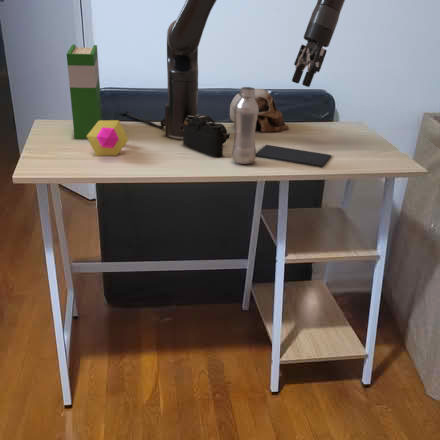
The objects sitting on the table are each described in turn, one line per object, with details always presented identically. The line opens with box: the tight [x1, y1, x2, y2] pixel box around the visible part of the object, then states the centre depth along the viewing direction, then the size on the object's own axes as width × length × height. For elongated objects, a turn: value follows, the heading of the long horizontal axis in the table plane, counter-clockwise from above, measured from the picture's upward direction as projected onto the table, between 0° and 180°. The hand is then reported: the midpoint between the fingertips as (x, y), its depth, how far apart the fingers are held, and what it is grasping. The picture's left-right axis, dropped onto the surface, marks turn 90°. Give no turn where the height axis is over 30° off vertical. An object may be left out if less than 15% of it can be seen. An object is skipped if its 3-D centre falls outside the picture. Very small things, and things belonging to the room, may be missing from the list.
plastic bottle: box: [231, 86, 259, 165], centre depth 152 cm, size 6×7×20 cm
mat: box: [255, 144, 332, 168], centre depth 163 cm, size 20×11×1 cm, turn 68°
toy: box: [87, 119, 130, 157], centre depth 157 cm, size 10×18×10 cm, turn 11°
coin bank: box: [229, 88, 289, 133], centre depth 186 cm, size 16×17×13 cm
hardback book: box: [66, 44, 103, 140], centre depth 171 cm, size 18×7×24 cm, turn 8°
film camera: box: [180, 113, 231, 158], centre depth 164 cm, size 18×12×10 cm
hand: (300, 84), depth 161 cm, fingers open, 8 cm apart
